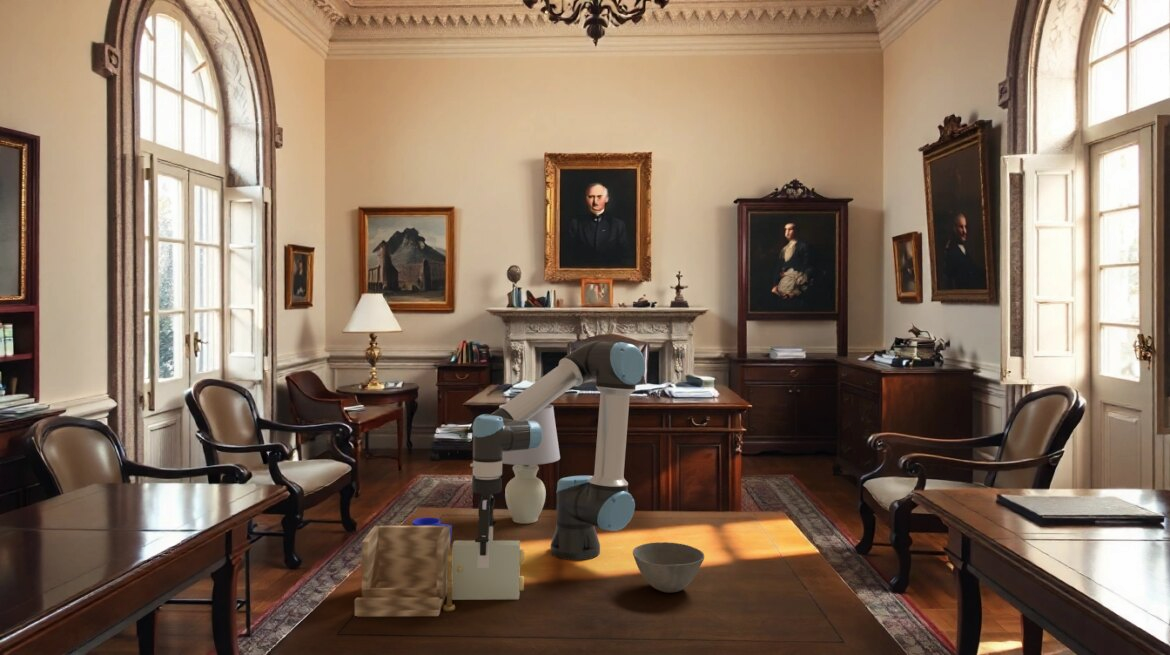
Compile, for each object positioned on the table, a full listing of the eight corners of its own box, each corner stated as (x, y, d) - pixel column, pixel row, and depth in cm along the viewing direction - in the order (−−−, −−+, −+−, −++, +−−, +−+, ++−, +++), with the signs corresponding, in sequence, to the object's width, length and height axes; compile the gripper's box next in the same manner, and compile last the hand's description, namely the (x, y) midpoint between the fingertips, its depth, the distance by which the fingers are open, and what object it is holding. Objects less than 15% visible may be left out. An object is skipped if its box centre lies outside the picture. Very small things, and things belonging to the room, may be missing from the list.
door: (524, 593, 204) (524, 540, 204) (523, 601, 199) (523, 546, 199) (453, 594, 204) (454, 540, 203) (451, 601, 199) (451, 546, 198)
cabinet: (462, 584, 210) (463, 525, 210) (452, 616, 189) (453, 550, 189) (374, 585, 209) (374, 525, 208) (354, 616, 188) (354, 550, 188)
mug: (446, 560, 230) (446, 526, 230) (407, 557, 232) (408, 523, 232) (456, 551, 238) (456, 519, 238) (419, 548, 240) (419, 516, 240)
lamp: (569, 515, 281) (570, 404, 280) (544, 533, 258) (545, 412, 257) (508, 508, 289) (509, 400, 288) (478, 525, 266) (479, 408, 265)
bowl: (618, 590, 207) (618, 553, 207) (658, 572, 222) (659, 537, 221) (677, 609, 195) (678, 569, 195) (716, 588, 210) (717, 551, 209)
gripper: (476, 466, 213) (475, 544, 214) (467, 487, 188) (465, 574, 189) (504, 467, 214) (502, 544, 214) (498, 487, 189) (496, 575, 189)
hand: (485, 558), depth 201 cm, fingers open, 13 cm apart
